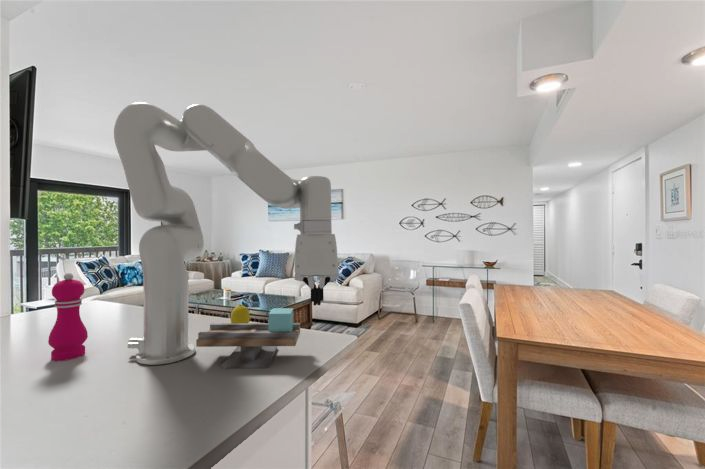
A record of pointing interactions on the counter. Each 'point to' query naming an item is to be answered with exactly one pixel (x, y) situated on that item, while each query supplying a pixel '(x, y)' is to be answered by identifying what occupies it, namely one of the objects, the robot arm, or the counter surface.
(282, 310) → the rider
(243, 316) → the lemon
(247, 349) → the wooden tray
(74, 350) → the pepper mill
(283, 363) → the counter surface
